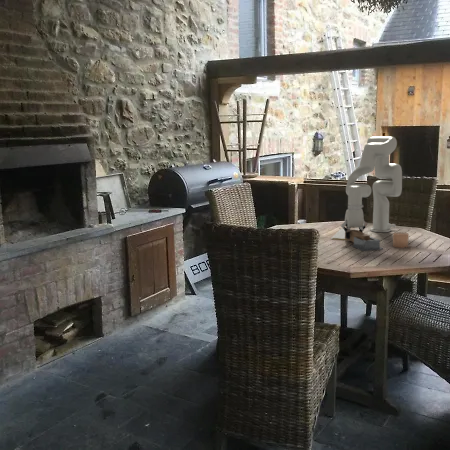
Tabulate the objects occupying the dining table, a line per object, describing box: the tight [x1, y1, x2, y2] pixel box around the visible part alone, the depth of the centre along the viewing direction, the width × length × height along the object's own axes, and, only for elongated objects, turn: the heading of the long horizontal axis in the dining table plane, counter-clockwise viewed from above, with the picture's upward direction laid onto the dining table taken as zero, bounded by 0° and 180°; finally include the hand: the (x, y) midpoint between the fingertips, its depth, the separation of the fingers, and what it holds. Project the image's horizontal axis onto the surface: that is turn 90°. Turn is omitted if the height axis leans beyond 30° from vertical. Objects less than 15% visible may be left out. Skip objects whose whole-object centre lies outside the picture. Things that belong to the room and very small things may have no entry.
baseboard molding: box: [330, 228, 358, 241], centre depth 318 cm, size 31×3×12 cm
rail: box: [345, 228, 371, 243], centre depth 292 cm, size 4×20×6 cm, turn 16°
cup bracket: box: [349, 236, 384, 252], centre depth 283 cm, size 12×14×5 cm
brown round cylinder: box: [392, 231, 410, 249], centre depth 284 cm, size 8×8×7 cm
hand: (354, 237), depth 296 cm, fingers open, 7 cm apart
